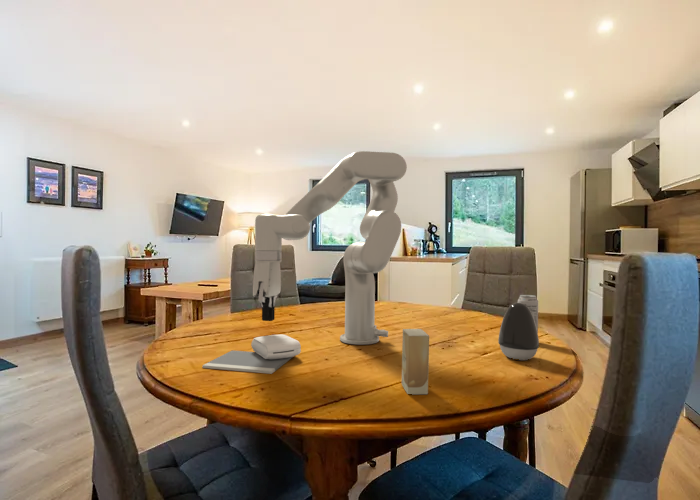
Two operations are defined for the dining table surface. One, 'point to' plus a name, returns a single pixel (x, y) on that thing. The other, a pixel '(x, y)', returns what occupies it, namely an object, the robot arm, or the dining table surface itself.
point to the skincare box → (415, 361)
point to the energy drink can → (531, 306)
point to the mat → (245, 362)
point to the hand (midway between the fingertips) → (268, 320)
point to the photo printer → (276, 346)
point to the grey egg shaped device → (518, 333)
